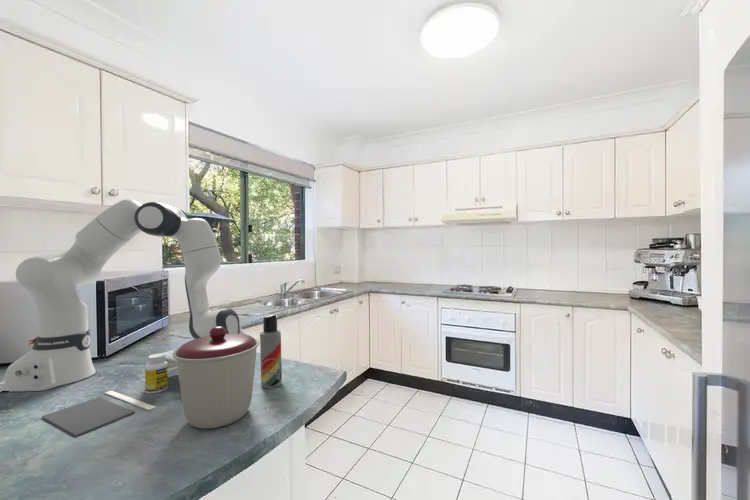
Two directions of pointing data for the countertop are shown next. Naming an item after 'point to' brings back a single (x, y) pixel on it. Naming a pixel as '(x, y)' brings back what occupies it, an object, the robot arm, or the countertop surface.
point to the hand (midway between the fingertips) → (156, 370)
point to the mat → (87, 416)
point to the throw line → (130, 400)
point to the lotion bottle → (270, 353)
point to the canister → (216, 377)
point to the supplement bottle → (156, 374)
